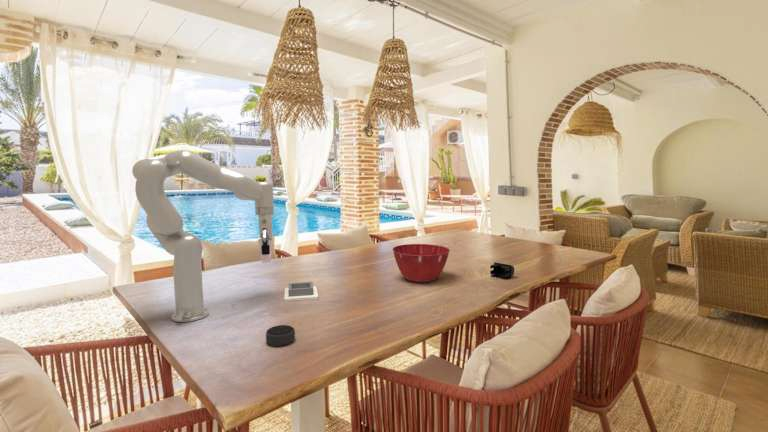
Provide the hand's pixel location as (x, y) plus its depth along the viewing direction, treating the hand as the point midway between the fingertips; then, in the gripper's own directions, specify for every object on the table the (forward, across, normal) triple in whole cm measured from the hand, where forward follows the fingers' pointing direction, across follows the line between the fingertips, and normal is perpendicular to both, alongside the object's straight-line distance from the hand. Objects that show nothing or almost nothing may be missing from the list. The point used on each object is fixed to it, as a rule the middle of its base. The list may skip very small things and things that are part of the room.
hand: (266, 252), depth 173 cm
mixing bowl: (+20, +11, -73) cm, 77 cm away
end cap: (+20, +5, -114) cm, 116 cm away
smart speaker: (+20, -49, -7) cm, 53 cm away
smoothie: (+4, 0, 0) cm, 4 cm away
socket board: (+20, 0, -14) cm, 24 cm away
